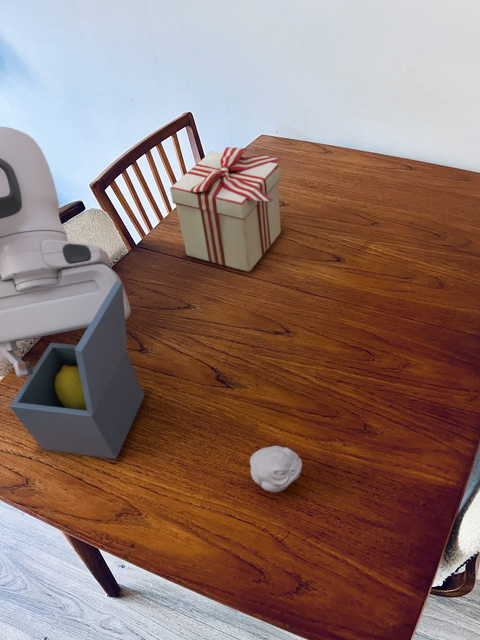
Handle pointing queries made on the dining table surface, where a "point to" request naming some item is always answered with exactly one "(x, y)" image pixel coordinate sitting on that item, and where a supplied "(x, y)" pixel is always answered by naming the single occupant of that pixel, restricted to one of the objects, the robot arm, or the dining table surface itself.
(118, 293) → the chest lid
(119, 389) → the chest
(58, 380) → the lemon
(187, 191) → the gift box
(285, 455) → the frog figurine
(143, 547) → the dining table surface
